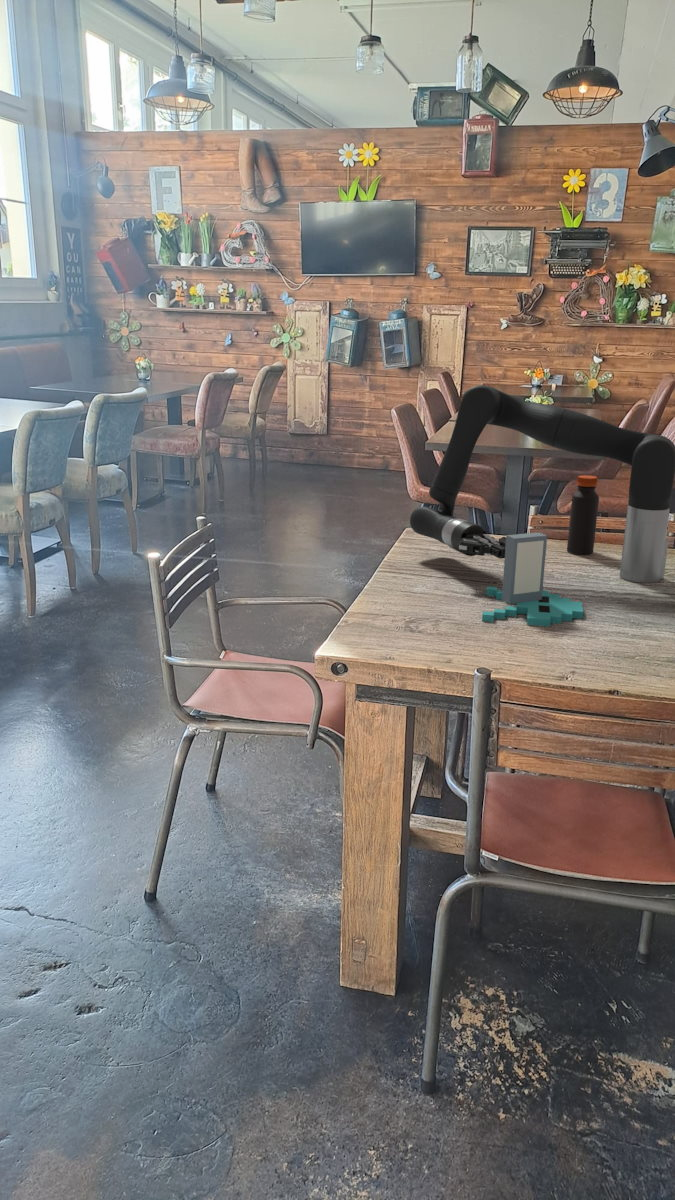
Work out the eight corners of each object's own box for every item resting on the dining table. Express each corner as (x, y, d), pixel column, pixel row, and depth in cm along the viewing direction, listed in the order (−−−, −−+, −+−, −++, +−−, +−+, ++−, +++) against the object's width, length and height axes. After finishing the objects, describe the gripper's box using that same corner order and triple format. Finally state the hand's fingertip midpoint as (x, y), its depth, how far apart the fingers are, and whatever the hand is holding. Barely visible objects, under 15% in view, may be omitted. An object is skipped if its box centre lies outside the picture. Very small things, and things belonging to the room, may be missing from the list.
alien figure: (481, 625, 172) (584, 632, 168) (482, 614, 172) (585, 622, 168) (486, 596, 191) (578, 602, 187) (487, 586, 190) (579, 592, 186)
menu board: (533, 595, 184) (538, 532, 180) (541, 599, 181) (547, 535, 177) (501, 599, 181) (506, 535, 177) (509, 603, 179) (514, 538, 174)
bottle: (597, 554, 224) (606, 478, 218) (574, 555, 222) (581, 479, 216) (585, 548, 230) (593, 474, 224) (562, 549, 229) (569, 475, 222)
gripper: (440, 523, 199) (479, 539, 184) (488, 519, 204) (531, 534, 189) (438, 554, 202) (477, 573, 186) (486, 549, 206) (528, 567, 191)
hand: (504, 553), depth 188 cm, fingers closed
